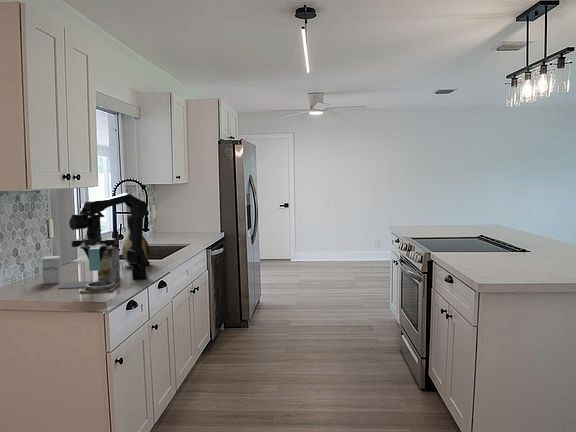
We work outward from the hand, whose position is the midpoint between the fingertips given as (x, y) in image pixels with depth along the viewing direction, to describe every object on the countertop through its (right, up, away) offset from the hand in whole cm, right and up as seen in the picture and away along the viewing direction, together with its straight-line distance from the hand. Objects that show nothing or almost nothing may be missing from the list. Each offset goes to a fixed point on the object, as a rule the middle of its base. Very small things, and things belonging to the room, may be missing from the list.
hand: (95, 261), depth 213 cm
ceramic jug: (+1, -8, +53) cm, 54 cm away
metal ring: (+2, -13, 0) cm, 13 cm away
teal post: (0, -4, 0) cm, 4 cm away
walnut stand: (+2, -13, 0) cm, 13 cm away
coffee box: (-2, -11, +22) cm, 25 cm away
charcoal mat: (-13, -12, +8) cm, 19 cm away
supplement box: (-28, -12, +15) cm, 34 cm away
